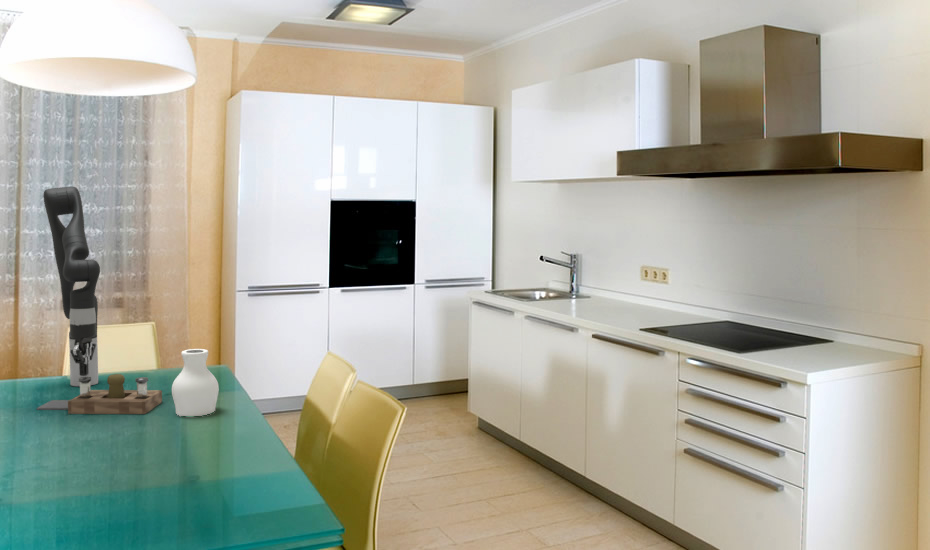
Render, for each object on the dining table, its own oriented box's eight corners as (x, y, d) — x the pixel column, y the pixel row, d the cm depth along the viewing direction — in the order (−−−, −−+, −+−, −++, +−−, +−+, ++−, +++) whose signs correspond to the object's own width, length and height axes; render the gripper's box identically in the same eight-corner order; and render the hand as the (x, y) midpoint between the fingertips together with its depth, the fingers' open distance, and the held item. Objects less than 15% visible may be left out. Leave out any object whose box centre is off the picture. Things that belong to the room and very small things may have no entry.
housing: (89, 401, 255) (89, 389, 255) (162, 402, 256) (161, 390, 256) (68, 413, 240) (67, 401, 240) (145, 413, 241) (145, 401, 241)
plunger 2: (138, 401, 248) (138, 377, 247) (150, 401, 248) (149, 377, 248) (133, 404, 244) (133, 379, 244) (146, 404, 245) (145, 379, 244)
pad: (52, 401, 254) (52, 400, 254) (82, 402, 254) (82, 400, 254) (36, 409, 244) (36, 407, 244) (68, 409, 245) (68, 408, 244)
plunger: (82, 400, 247) (81, 376, 247) (94, 401, 248) (93, 376, 247) (76, 403, 244) (76, 379, 243) (88, 404, 244) (88, 379, 243)
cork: (130, 405, 251) (129, 373, 250) (120, 410, 245) (119, 377, 244) (113, 405, 251) (112, 372, 250) (102, 409, 245) (101, 376, 245)
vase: (198, 404, 254) (197, 345, 252) (228, 410, 247) (227, 349, 245) (162, 413, 242) (161, 351, 240) (192, 420, 235) (191, 356, 233)
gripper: (80, 319, 250) (81, 371, 251) (60, 324, 237) (62, 379, 238) (103, 319, 250) (104, 371, 251) (85, 325, 237) (86, 379, 238)
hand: (84, 375), depth 245 cm, fingers closed
